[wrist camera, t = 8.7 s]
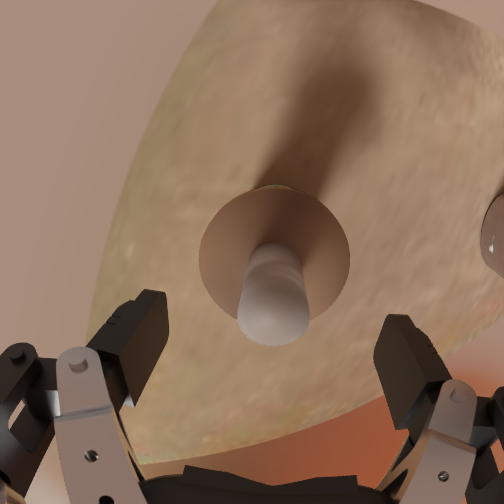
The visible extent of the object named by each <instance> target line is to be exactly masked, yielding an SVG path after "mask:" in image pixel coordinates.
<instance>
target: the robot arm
mask: <svg viewBox="0 0 504 504" xmlns="http://www.w3.org/2000/svg"><path fill="white" fill-rule="evenodd" d="M481 252H482V255H483V259H484V260H485V262H486V264H487V265H488V266H489V267H490V268H491V269H492V270H494V271H495V272H496V273H497V274H499V275H500V276H501V277H502V278H504V193H502V194H501V195H499V196H498V197H497V198H496V199H495V201H494V202H493V203H492V205H491V206H490V208H489V210H488V212H487V214H486V217H485V220H484V223H483V227H482V233H481ZM168 336H169V320H168V309H167V298H166V294H165V292H161V291H155V290H148V289H144V290H143V291H142V292H141V293H140V295H139V296H138V297H137V298H136V299H135V301H133V300H129V301H128V302H126V303H124V304H122V305H121V306H119V307H118V308H117V309H116V310H115V312H114V313H113V314H112V317H111V316H110V318H109V319H108V320H107V321H106V323H104V325H103V326H102V327H101V328H100V329H99V331H98V332H97V333H96V334H95V336H94V337H93V338H92V339H91V340H90V342H89V343H88V344H87V345H86V347H74V348H71V349H68V350H66V351H65V352H63V353H62V354H61V355H60V356H59V358H58V359H52V358H40V357H38V354H37V352H36V350H35V348H34V347H33V346H32V345H31V344H29V343H16V344H14V345H11V346H10V347H8V348H7V349H6V350H5V351H4V352H3V353H2V354H1V355H0V504H26V503H25V500H24V498H25V496H26V493H27V491H28V489H29V487H30V484H31V482H32V480H33V478H34V476H35V474H36V472H37V469H38V467H39V465H40V463H41V461H42V459H43V457H44V455H45V453H46V451H47V449H48V447H49V445H50V443H51V441H52V439H53V437H54V435H56V441H57V447H58V452H59V458H60V463H61V468H62V472H63V476H64V481H65V485H66V489H67V492H68V496H69V499H70V503H71V504H461V502H462V500H463V497H464V494H465V497H466V501H467V504H504V470H503V471H502V472H501V473H500V474H499V472H498V468H497V465H496V463H495V460H494V457H493V454H492V451H491V448H490V447H491V446H492V445H493V444H494V443H495V442H496V441H497V440H498V439H499V440H500V442H501V445H502V448H503V450H504V386H503V387H499V388H498V389H497V390H496V391H495V393H494V394H493V396H492V397H491V398H487V397H480V396H477V395H476V393H475V391H474V390H473V388H472V387H471V386H470V385H469V384H467V383H466V382H463V381H461V380H457V379H452V377H451V375H450V374H449V372H448V370H447V368H446V367H445V364H444V363H443V361H442V359H441V358H440V356H439V355H438V354H437V353H438V352H437V351H436V349H435V347H433V344H432V343H431V341H430V339H429V338H428V336H427V335H426V334H424V333H423V332H422V331H421V330H420V329H419V328H416V327H415V325H414V323H413V322H412V320H411V319H410V317H409V316H408V315H400V314H389V315H387V317H386V319H385V321H384V324H383V327H382V330H381V332H380V335H379V338H378V340H377V343H376V346H375V349H374V356H373V359H374V364H375V367H376V370H377V373H378V376H379V379H380V382H381V385H382V388H383V391H384V394H385V397H386V400H387V403H388V407H389V410H390V413H391V416H392V420H393V423H394V427H395V430H401V429H408V431H409V434H408V435H407V436H406V438H405V440H404V442H403V444H402V446H401V448H400V450H399V452H398V453H397V456H396V457H395V459H394V461H393V463H392V465H391V466H390V468H389V470H388V472H387V474H386V475H385V477H384V478H383V480H382V481H381V482H380V483H379V485H378V486H377V487H376V488H375V489H373V488H370V487H366V486H362V485H358V484H357V476H356V475H351V476H339V477H338V476H337V477H316V478H312V479H308V480H303V481H298V482H293V483H288V484H283V485H277V486H270V485H266V484H262V483H259V482H256V481H252V480H249V479H246V478H243V477H240V476H237V475H234V474H231V473H228V472H222V471H215V470H209V469H203V468H198V467H193V466H188V465H185V468H184V471H183V474H175V475H164V476H159V477H155V478H151V479H148V480H147V479H146V477H145V475H144V473H143V471H142V469H141V467H140V464H139V462H138V460H137V458H136V456H135V453H134V451H133V448H132V446H131V443H130V440H129V438H128V435H127V432H126V430H125V427H124V424H123V421H122V418H121V415H120V413H119V411H120V409H121V407H122V405H123V404H124V405H127V406H131V407H134V408H135V406H136V403H137V401H138V399H139V397H140V395H141V393H142V391H143V389H144V387H145V385H146V383H147V381H148V379H149V377H150V375H151V373H152V371H153V369H154V367H155V365H156V363H157V361H158V359H159V357H160V355H161V353H162V351H163V349H164V347H165V345H166V343H167V340H168ZM21 400H22V401H23V403H24V404H25V406H24V408H23V409H22V411H21V412H20V414H19V416H18V417H17V419H16V420H15V422H14V423H13V425H12V427H11V428H10V430H9V428H8V420H9V418H10V416H11V414H12V413H13V411H14V410H15V408H16V407H17V405H18V404H19V402H20V401H21Z"/></svg>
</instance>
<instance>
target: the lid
mask: <svg viewBox="0 0 504 504" xmlns="http://www.w3.org/2000/svg"><path fill="white" fill-rule="evenodd" d="M349 266H350V252H349V245H348V242H347V238H346V235H345V233H344V231H343V229H342V227H341V225H340V224H339V222H338V221H337V219H336V218H335V217H334V215H333V214H332V213H331V212H330V211H329V210H328V208H327V207H325V206H324V205H323V204H322V203H321V202H320V201H318V200H317V199H315V198H313V197H312V196H310V195H308V194H306V193H303V192H301V191H298V190H294V189H290V188H284V187H265V188H259V189H255V190H251V191H248V192H246V193H243V194H241V195H239V196H237V197H236V198H234V199H232V200H231V201H230V202H228V203H227V204H226V205H225V206H224V207H223V208H222V209H221V210H220V211H219V212H218V213H217V214H216V215H215V217H214V218H213V219H212V221H211V222H210V223H209V225H208V227H207V229H206V231H205V233H204V235H203V238H202V241H201V245H200V250H199V268H200V273H201V277H202V280H203V283H204V285H205V287H206V289H207V291H208V293H209V294H210V296H211V297H212V299H213V300H214V301H215V302H216V304H217V305H218V306H219V307H220V308H221V309H223V310H224V311H225V312H226V313H228V314H229V315H230V316H232V317H233V318H235V319H237V320H238V324H239V326H240V328H241V330H242V331H243V333H244V334H245V335H246V336H247V337H248V338H250V339H251V340H253V341H255V342H257V343H259V344H263V345H268V346H280V345H285V344H288V343H290V342H293V341H294V340H296V339H298V338H299V337H300V336H301V335H302V334H303V333H304V332H305V330H306V329H307V327H308V324H309V321H310V320H312V319H314V318H315V317H317V316H319V315H320V314H321V313H323V312H324V311H325V310H327V309H328V308H329V307H330V306H331V305H332V304H333V302H334V301H335V300H336V299H337V298H338V296H339V294H340V293H341V291H342V289H343V287H344V285H345V283H346V280H347V277H348V273H349Z"/></svg>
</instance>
